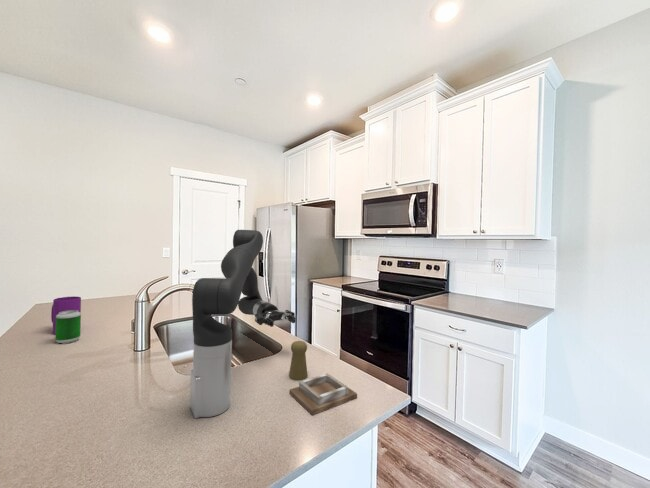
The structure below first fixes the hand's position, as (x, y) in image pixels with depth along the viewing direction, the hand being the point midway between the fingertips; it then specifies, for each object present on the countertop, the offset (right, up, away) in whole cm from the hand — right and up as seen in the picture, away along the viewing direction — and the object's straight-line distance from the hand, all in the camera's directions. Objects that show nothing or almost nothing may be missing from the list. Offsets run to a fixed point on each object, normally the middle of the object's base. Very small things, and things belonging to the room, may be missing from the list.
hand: (283, 322), depth 101 cm
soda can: (-90, -12, +15) cm, 92 cm away
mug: (-104, -12, +27) cm, 108 cm away
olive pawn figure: (+6, -15, -9) cm, 19 cm away
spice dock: (+14, -15, -21) cm, 29 cm away
